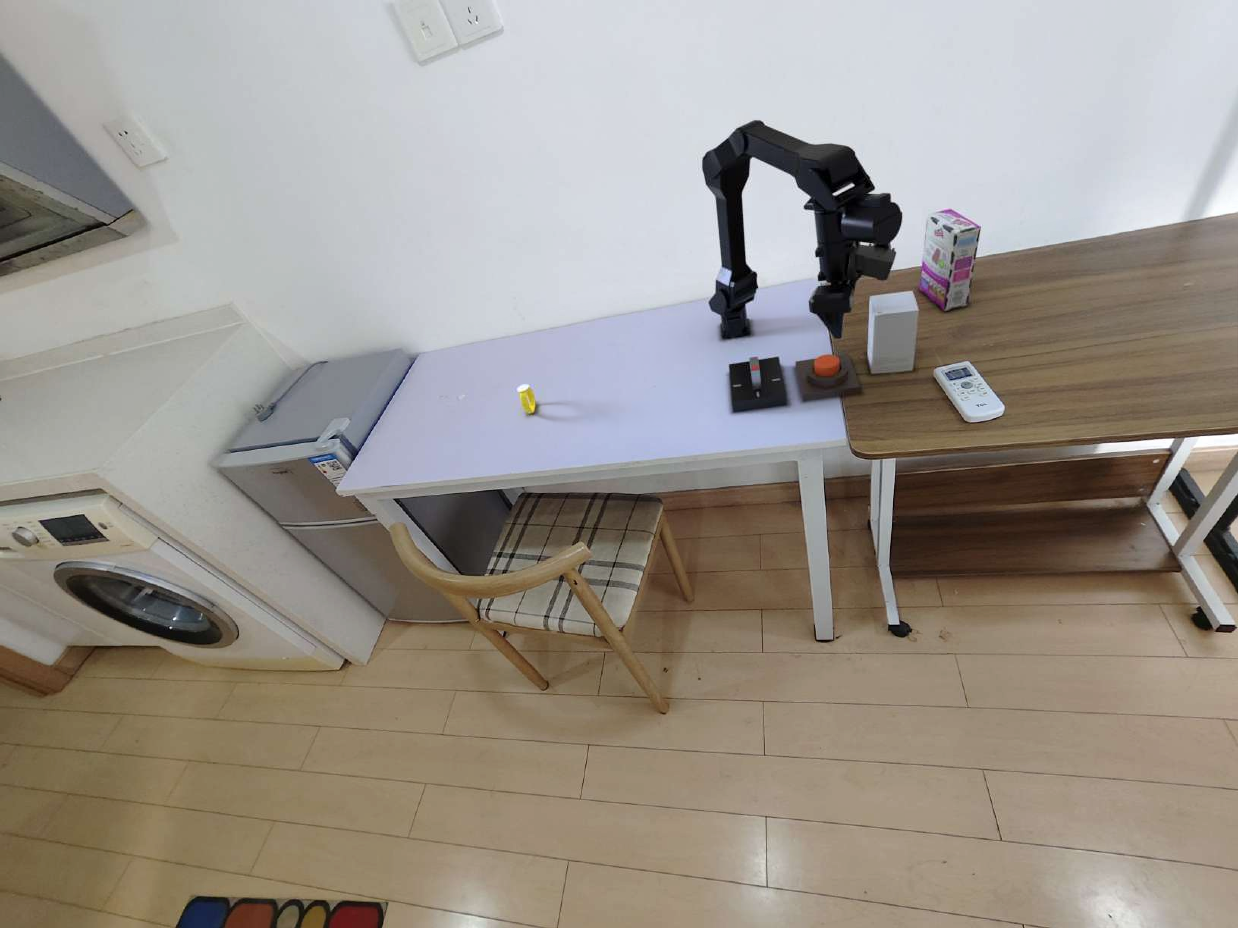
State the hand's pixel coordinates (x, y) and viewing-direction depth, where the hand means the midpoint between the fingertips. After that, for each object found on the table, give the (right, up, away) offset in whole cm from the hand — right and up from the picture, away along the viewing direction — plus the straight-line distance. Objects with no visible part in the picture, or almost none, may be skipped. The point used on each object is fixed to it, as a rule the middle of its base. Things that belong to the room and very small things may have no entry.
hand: (843, 325), depth 101 cm
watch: (-59, -12, +29) cm, 66 cm away
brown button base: (+1, -8, +10) cm, 13 cm away
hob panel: (-12, -9, +14) cm, 20 cm away
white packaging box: (+13, -5, +10) cm, 17 cm away
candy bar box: (+29, +11, +20) cm, 37 cm away
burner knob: (-13, -9, +11) cm, 19 cm away
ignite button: (0, -7, +7) cm, 10 cm away
